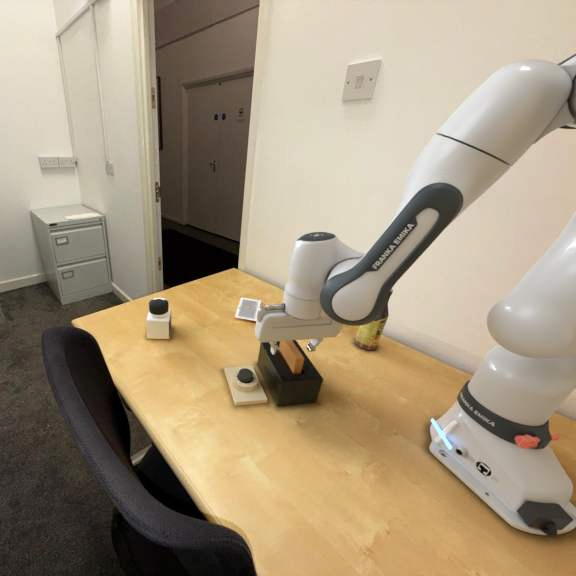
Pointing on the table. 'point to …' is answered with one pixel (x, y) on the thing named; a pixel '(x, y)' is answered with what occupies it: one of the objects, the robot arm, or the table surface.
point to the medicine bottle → (158, 319)
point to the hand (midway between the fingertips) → (292, 351)
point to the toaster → (289, 378)
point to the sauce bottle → (372, 330)
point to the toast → (291, 356)
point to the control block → (244, 387)
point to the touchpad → (248, 309)
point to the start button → (245, 375)
